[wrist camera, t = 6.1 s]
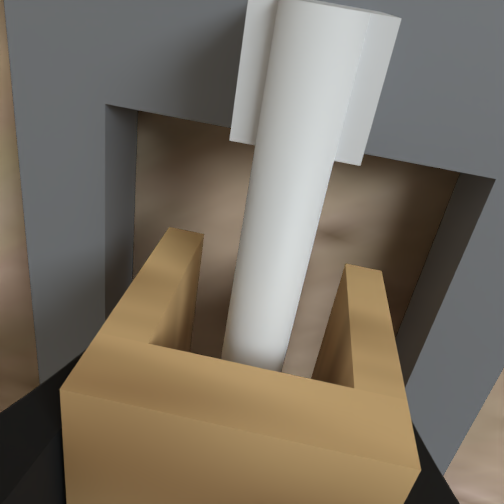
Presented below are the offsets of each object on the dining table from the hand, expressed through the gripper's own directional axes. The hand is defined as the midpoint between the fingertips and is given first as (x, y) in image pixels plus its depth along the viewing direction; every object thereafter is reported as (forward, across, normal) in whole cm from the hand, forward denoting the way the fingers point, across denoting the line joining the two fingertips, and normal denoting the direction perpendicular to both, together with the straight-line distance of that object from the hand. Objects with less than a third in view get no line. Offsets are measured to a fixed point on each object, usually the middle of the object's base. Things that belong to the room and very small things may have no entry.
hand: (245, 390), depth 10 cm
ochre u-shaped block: (+2, 0, 0) cm, 2 cm away
